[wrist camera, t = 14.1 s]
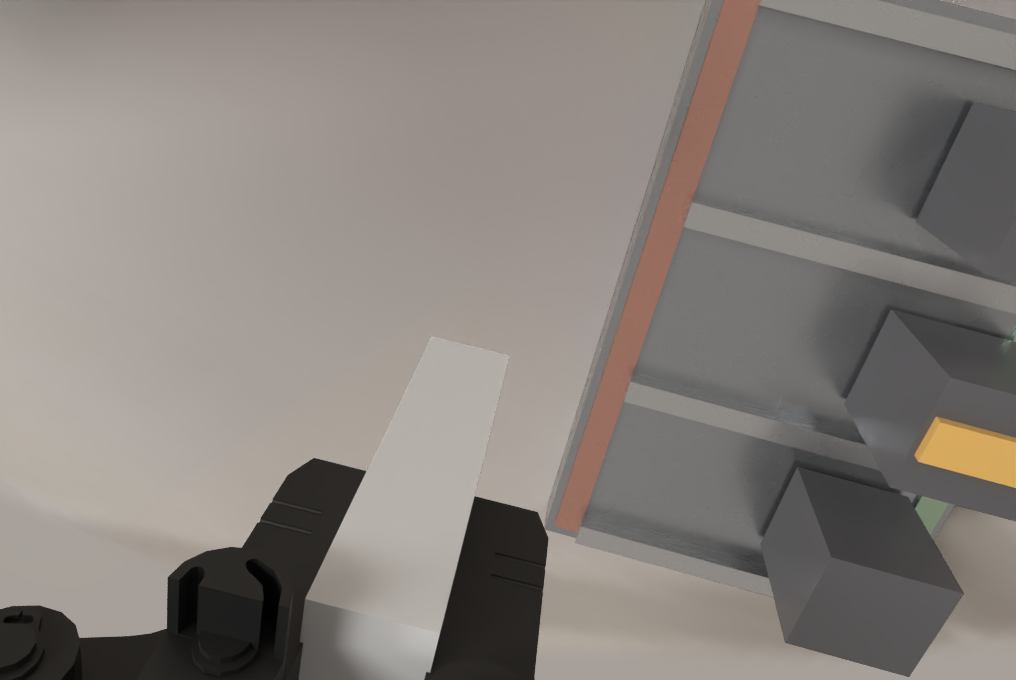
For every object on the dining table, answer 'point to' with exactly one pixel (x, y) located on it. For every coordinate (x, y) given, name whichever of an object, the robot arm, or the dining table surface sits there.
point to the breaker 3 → (856, 573)
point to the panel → (777, 272)
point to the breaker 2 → (941, 412)
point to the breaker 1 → (978, 193)
